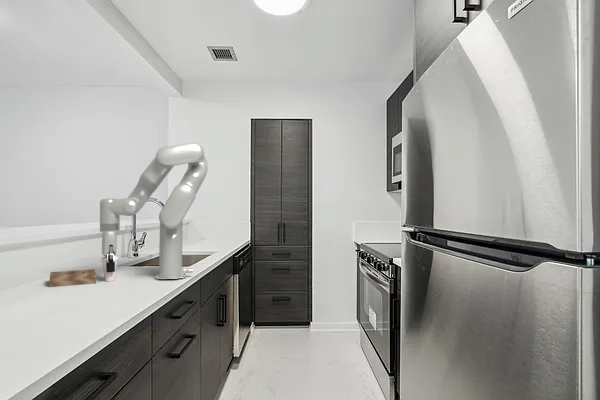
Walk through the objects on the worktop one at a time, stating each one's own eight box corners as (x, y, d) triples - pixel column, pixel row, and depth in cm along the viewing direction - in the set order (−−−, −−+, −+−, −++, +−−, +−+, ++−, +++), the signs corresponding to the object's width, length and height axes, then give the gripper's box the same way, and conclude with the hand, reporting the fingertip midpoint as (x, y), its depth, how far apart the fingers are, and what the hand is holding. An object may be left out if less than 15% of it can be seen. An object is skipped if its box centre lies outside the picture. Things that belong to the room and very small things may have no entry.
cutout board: (93, 278, 175) (94, 269, 175) (95, 283, 165) (96, 273, 165) (50, 281, 167) (50, 272, 167) (49, 287, 156) (49, 276, 157)
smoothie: (98, 280, 170) (98, 247, 170) (113, 278, 175) (113, 245, 175) (106, 282, 166) (106, 248, 166) (121, 280, 171) (121, 246, 171)
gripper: (98, 227, 176) (98, 268, 176) (101, 229, 162) (101, 274, 161) (117, 226, 180) (117, 267, 180) (122, 228, 165) (122, 273, 165)
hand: (109, 270), depth 171 cm, fingers closed on smoothie, 6 cm apart
